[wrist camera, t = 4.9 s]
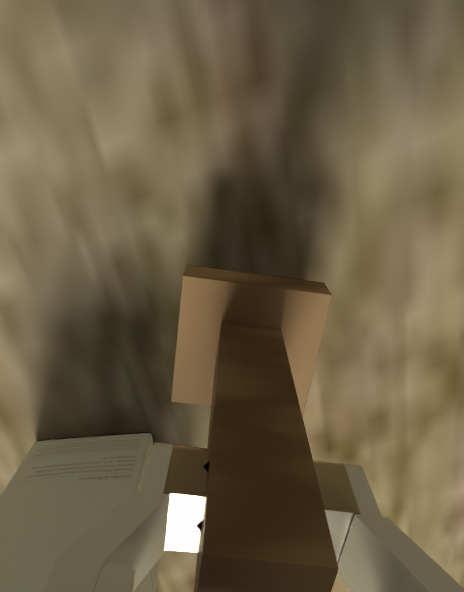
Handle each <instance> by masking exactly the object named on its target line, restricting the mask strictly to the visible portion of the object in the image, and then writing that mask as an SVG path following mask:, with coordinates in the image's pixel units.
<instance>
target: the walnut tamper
mask: <svg viewBox="0 0 464 592" xmlns="http://www.w3.org/2000/svg"><path fill="white" fill-rule="evenodd" d="M331 297H332V295H331V293H330V291H329V290H328V288H327V287H326V285H325V283H322V282H314V281H306V280H299V279H291V278H283V277H276V276H268V275H260V274H253V273H245V272H237V271H230V270H222V269H214V268H207V267H199V266H191V265H187V267H186V269H185V272H184V275H183V281H182V292H181V302H180V313H179V324H178V334H177V345H176V355H175V366H174V377H173V387H172V398H171V402H178V403H187V404H195V405H204V406H211V415H210V425H209V436H208V447H207V449H210V461H209V468H208V485H207V497H206V504H205V511H204V518H203V520H202V530H201V538H200V545H199V551H198V555H197V565H196V576H195V587H194V592H331V590H332V587H333V584H334V581H335V578H336V575H337V572H338V569H339V567H338V563H337V559H336V555H335V551H334V547H333V542H332V538H331V534H330V530H329V526H328V522H327V517H326V513H325V509H324V505H323V501H322V497H321V493H320V488H319V484H318V480H317V476H316V472H315V468H314V463H313V459H312V455H311V451H310V447H309V443H308V438H307V434H306V430H305V426H304V422H303V418H302V417H303V413H304V409H305V405H306V401H307V397H308V392H309V388H310V384H311V380H312V376H313V372H314V367H315V363H316V359H317V355H318V351H319V347H320V342H321V338H322V334H323V330H324V326H325V322H326V317H327V313H328V309H329V305H330V301H331Z"/></svg>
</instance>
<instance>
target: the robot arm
mask: <svg viewBox="0 0 464 592" xmlns="http://www.w3.org/2000/svg"><path fill="white" fill-rule="evenodd" d="M209 461H210V449H205V448H198V447H190V446H183V445H176V444H174V445H173V444H166V443H159V442H155V444H154V445H153V448H152V452H151V456H150V459H149V463H148V467H147V470H146V474H145V478H144V482H143V485H142V489H141V491H134V492H133V493H132V494H131V495H129V496H128V497H127V498H126V499H125V500H124V501H122V502H121V503H120V504H119V505H118V506H116V507H115V508H114V509H113V510H112V511H111V512H109V513H108V514H107V515H106V516H105V517H104V518H102V519H101V520H100V521H99V522H98V523H97V524H95V525H94V526H93V527H92V528H91V529H89V530H88V531H87V532H86V533H85V534H84V535H82V536H81V537H80V538H79V539H78V540H77V541H75V542H74V543H73V544H72V545H71V546H70V547H68V548H67V549H66V550H65V551H64V552H62V553H61V554H60V555H59V556H58V558H57V561H56V563H55V565H54V568H53V570H52V572H51V575H50V577H49V579H48V582H47V584H46V586H45V588H44V591H43V592H134V590H135V589H136V588H137V586H138V585H139V584H140V583H141V581H142V580H143V579H144V578H145V576H146V575H147V574H148V572H149V571H150V570H151V569H152V567H153V566H154V565H155V563H156V562H157V561H158V560H159V558H160V557H161V556H162V554H163V553H164V550H170V551H184V552H198V551H199V545H200V538H201V530H202V520H203V518H204V511H205V504H206V497H207V485H208V468H209ZM313 463H314V468H315V472H316V476H317V480H318V484H319V488H320V493H321V497H322V501H323V505H324V509H325V513H326V517H327V522H328V526H329V530H330V534H331V538H332V542H333V547H334V551H335V555H336V559H337V563H338V567H339V569H338V573H339V574H340V575H341V577H342V578H343V580H344V581H345V583H346V584H347V585H348V587H349V588H350V590H351V591H352V592H464V588H463V587H462V586H461V585H459V584H458V583H457V582H456V581H455V580H454V579H453V578H452V577H451V576H450V575H449V574H448V573H447V572H445V571H444V570H443V569H442V568H441V567H440V566H439V565H438V564H437V563H436V562H435V561H434V560H433V559H432V558H430V557H429V556H428V555H427V554H426V553H425V552H424V551H423V550H422V549H421V548H420V547H419V546H418V545H416V544H415V543H414V542H413V541H412V540H411V539H410V538H409V537H408V536H407V535H406V534H405V533H404V532H403V531H401V530H400V529H399V528H398V527H397V526H396V525H395V524H394V523H393V522H392V521H391V520H390V519H389V518H386V517H382V515H381V513H380V510H379V508H378V505H377V503H376V500H375V498H374V495H373V493H372V490H371V488H370V485H369V483H368V480H367V478H366V475H365V473H364V470H363V468H362V467H361V466H360V465H354V464H344V463H341V464H340V463H331V462H322V461H313Z"/></svg>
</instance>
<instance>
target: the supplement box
mask: <svg viewBox="0 0 464 592" xmlns="http://www.w3.org/2000/svg"><path fill="white" fill-rule="evenodd" d="M153 445H154V444H153V439H152V434H151V433H141V434H126V435H112V436H98V437H83V438H69V439H58V440H46V441H38V442H36V443H34V445H33V446H32V447H31V449H30V451H29V452H28V454H27V456H26V457H25V459H24V460H23V462H22V464H21V465H20V467H19V468H18V470H17V472H16V473H15V475H14V476H13V478H12V479H11V481H10V483H9V484H8V486H7V488H6V489H5V491H4V493H3V494H2V496H1V497H0V592H43V591H44V588H45V586H46V584H47V582H48V579H49V577H50V575H51V572H52V570H53V568H54V565H55V563H56V561H57V558H58V556H59V555H60V554H61V553H62V552H64V551H65V550H66V549H67V548H68V547H70V546H71V545H72V544H73V543H74V542H75V541H77V540H78V539H79V538H80V537H81V536H82V535H84V534H85V533H86V532H87V531H88V530H89V529H91V528H92V527H93V526H94V525H95V524H97V523H98V522H99V521H100V520H101V519H102V518H104V517H105V516H106V515H107V514H108V513H109V512H111V511H112V510H113V509H114V508H115V507H116V506H118V505H119V504H120V503H121V502H122V501H124V500H125V499H126V498H127V497H128V496H129V495H131V494H132V493H133V492H134V491H141V489H142V485H143V482H144V478H145V474H146V470H147V467H148V463H149V459H150V456H151V452H152V448H153ZM159 564H160V558H159V560H158V561H157V562H156V563H155V565H154V566H153V567H152V569H151V570H150V571H149V572H148V574H147V575H146V576H145V578H144V579H143V580H142V581H141V583H140V584H139V585H138V586H137V588H136V589H135V590H134V592H155V591H156V584H157V577H158V570H159Z"/></svg>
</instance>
